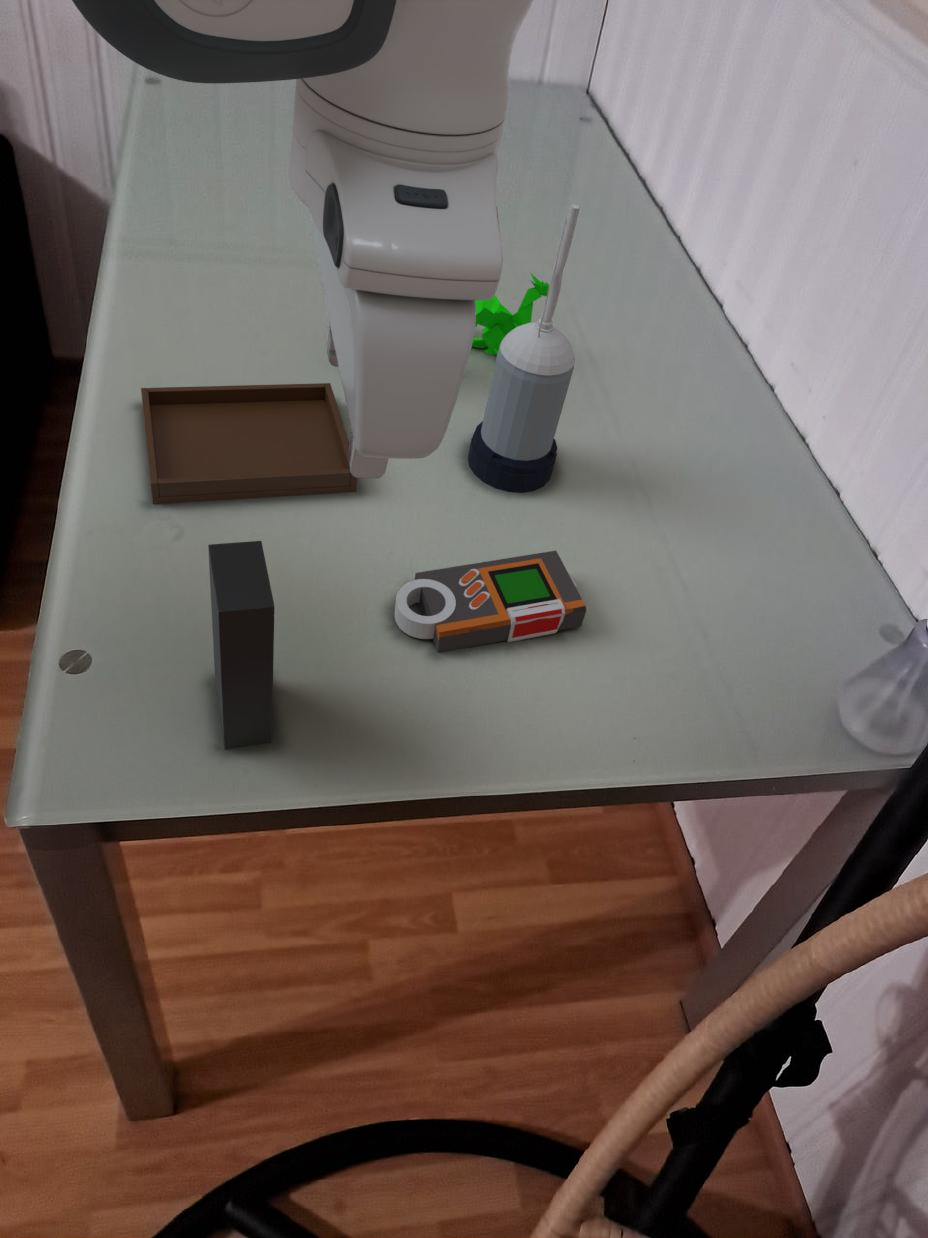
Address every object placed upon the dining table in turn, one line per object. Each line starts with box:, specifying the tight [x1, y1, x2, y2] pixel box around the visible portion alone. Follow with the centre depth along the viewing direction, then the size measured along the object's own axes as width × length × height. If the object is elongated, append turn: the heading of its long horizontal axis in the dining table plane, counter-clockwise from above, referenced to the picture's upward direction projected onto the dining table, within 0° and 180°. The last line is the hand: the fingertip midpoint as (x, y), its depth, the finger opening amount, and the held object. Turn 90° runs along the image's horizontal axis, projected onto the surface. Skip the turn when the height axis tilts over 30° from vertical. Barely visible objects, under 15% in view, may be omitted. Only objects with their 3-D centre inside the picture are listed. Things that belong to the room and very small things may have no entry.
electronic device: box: [394, 550, 587, 653], centre depth 76 cm, size 7×3×15 cm
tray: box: [140, 382, 358, 505], centre depth 85 cm, size 17×13×2 cm
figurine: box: [471, 273, 550, 356], centre depth 100 cm, size 6×12×9 cm, turn 86°
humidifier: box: [467, 203, 581, 494], centre depth 81 cm, size 8×8×25 cm
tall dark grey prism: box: [207, 540, 276, 750], centre depth 62 cm, size 3×6×14 cm, turn 16°
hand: (352, 411), depth 52 cm, fingers open, 8 cm apart
